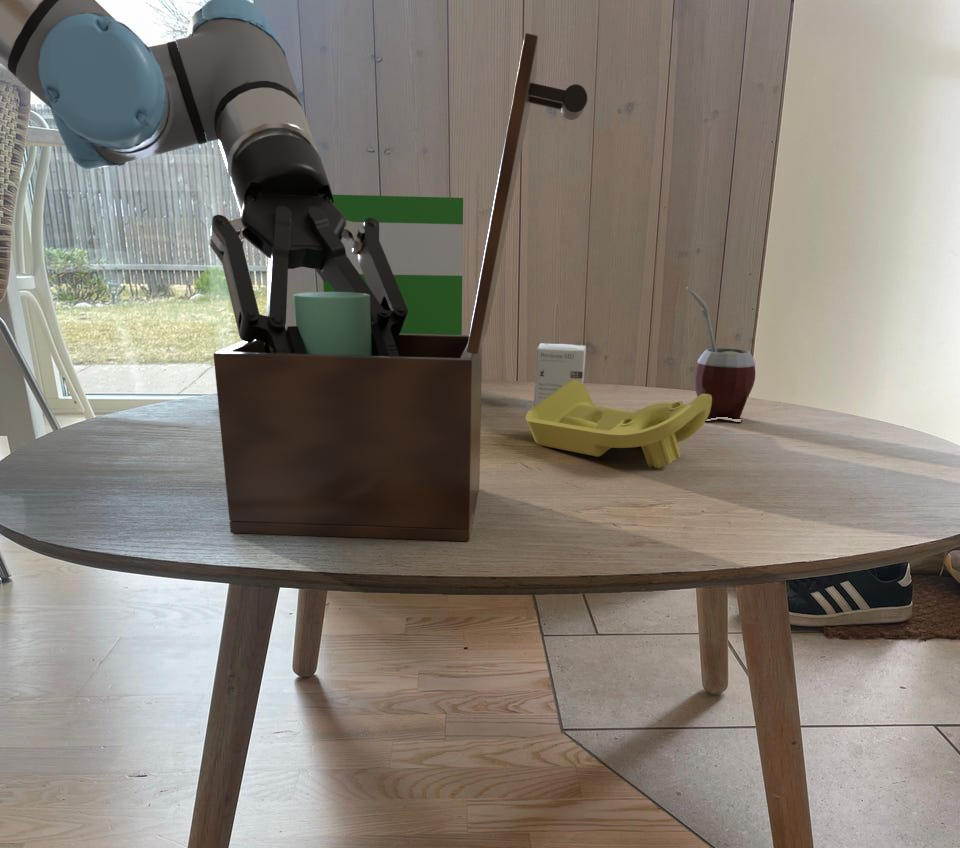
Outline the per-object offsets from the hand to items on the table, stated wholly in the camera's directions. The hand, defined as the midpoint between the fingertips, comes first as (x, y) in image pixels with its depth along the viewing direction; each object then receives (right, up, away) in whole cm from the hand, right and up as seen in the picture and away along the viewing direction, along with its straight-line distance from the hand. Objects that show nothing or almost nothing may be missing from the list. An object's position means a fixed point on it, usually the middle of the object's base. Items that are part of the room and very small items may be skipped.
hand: (353, 407), depth 69 cm
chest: (0, -7, +6) cm, 9 cm away
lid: (+11, +14, -3) cm, 18 cm away
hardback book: (-2, +17, +58) cm, 61 cm away
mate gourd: (+38, +10, +44) cm, 59 cm away
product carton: (+19, +13, +50) cm, 56 cm away
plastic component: (+23, +1, +26) cm, 35 cm away
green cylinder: (-2, -2, +4) cm, 5 cm away
